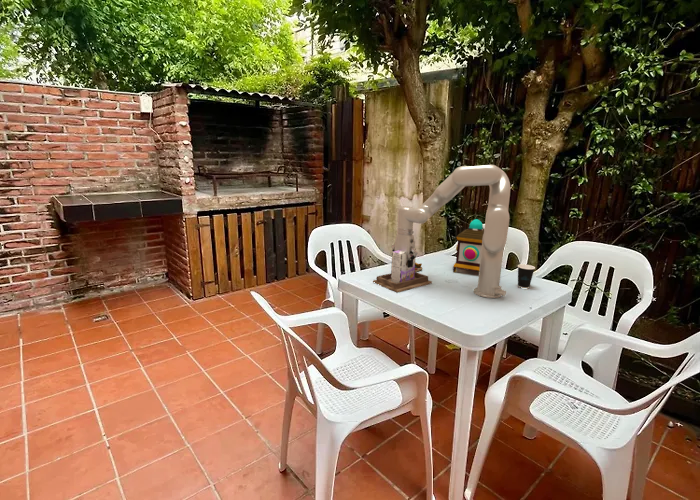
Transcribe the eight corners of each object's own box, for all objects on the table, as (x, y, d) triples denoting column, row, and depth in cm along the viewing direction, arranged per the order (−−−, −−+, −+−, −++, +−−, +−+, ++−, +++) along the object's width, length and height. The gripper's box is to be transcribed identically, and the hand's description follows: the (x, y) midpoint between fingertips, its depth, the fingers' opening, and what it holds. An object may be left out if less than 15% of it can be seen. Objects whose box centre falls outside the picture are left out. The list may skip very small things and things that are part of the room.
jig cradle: (431, 283, 189) (432, 276, 188) (397, 292, 175) (397, 285, 174) (406, 274, 203) (406, 268, 202) (372, 282, 189) (373, 275, 188)
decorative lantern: (486, 278, 198) (492, 223, 191) (449, 272, 207) (454, 219, 200) (492, 269, 215) (498, 218, 208) (458, 264, 224) (463, 215, 217)
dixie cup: (525, 284, 190) (528, 263, 187) (535, 289, 182) (538, 268, 179) (511, 285, 188) (514, 264, 185) (521, 290, 180) (524, 269, 178)
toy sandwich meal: (408, 273, 205) (409, 265, 204) (395, 267, 217) (395, 259, 216) (426, 271, 211) (427, 263, 210) (412, 265, 222) (412, 257, 221)
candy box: (405, 276, 195) (406, 246, 192) (414, 279, 192) (416, 248, 188) (390, 283, 185) (391, 251, 181) (400, 285, 182) (401, 253, 178)
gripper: (423, 233, 178) (421, 267, 182) (398, 228, 191) (396, 260, 195) (412, 235, 174) (410, 270, 178) (387, 229, 187) (386, 262, 191)
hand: (403, 264), depth 187 cm, fingers open, 9 cm apart
